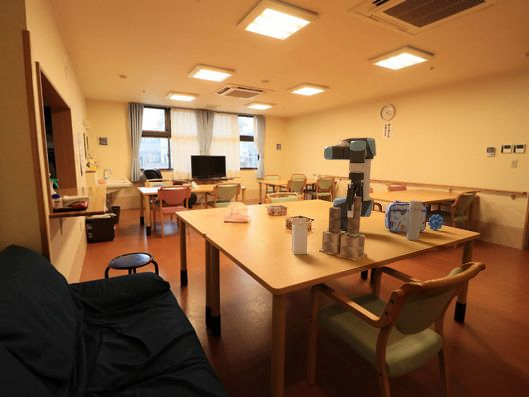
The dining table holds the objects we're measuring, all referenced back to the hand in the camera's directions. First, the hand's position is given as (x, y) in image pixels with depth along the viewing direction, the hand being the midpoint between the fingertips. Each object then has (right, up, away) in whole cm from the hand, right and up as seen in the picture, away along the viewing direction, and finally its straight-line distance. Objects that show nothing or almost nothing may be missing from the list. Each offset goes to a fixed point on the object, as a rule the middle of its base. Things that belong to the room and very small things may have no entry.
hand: (354, 215), depth 147 cm
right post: (0, -13, +2) cm, 13 cm away
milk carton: (-28, -21, +8) cm, 35 cm away
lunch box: (+52, -15, +54) cm, 76 cm away
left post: (-8, -19, +10) cm, 23 cm away
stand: (-4, -21, +7) cm, 22 cm away
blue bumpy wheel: (+77, -14, +58) cm, 97 cm away
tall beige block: (+47, -17, +34) cm, 61 cm away
